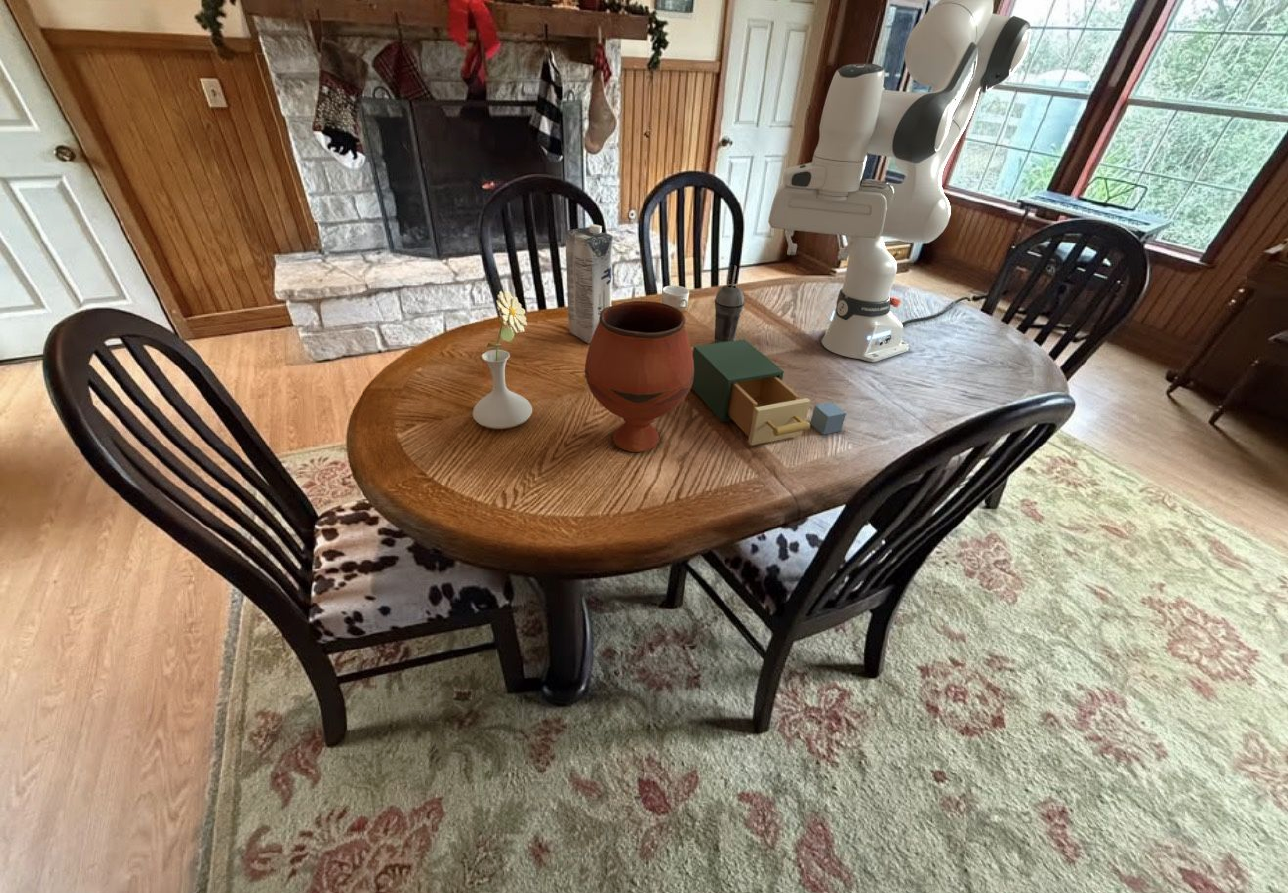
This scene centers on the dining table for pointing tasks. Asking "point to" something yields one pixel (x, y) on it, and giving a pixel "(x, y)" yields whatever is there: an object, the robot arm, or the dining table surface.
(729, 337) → the beverage cup
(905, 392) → the dining table surface
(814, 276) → the dining table surface
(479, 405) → the flower in vase
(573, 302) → the juice carton
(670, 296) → the teacup
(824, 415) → the block
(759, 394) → the drawer
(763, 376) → the cabinet
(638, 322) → the goblet
